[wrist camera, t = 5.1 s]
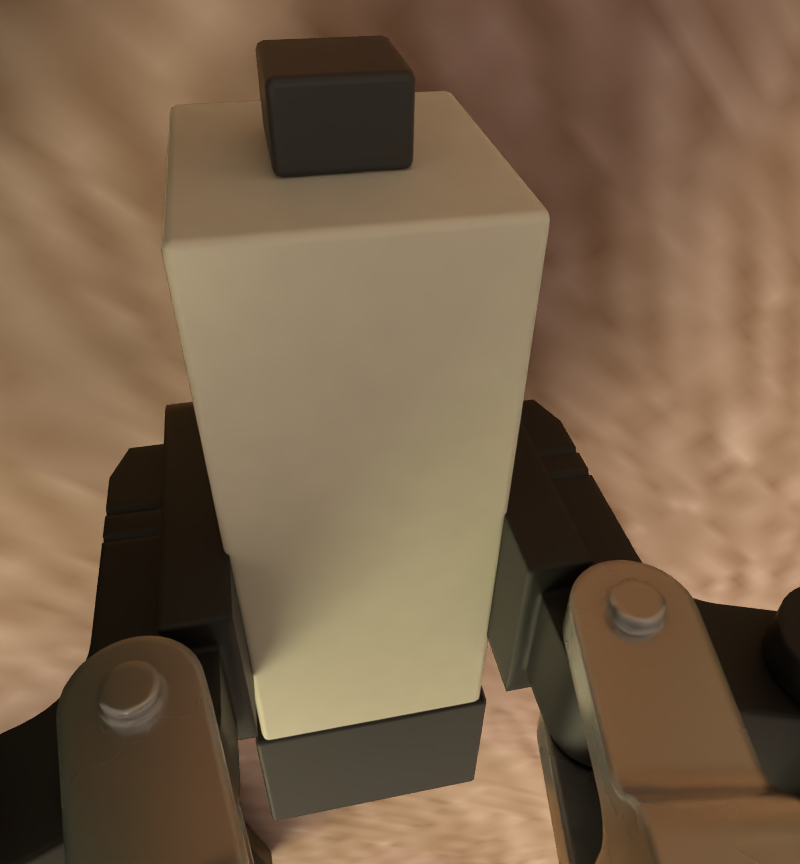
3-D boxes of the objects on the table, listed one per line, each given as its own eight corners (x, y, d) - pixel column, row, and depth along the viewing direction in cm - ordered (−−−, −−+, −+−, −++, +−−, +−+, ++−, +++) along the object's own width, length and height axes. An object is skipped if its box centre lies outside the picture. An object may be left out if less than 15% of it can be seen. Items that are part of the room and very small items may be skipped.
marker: (141, 14, 7) (119, 132, 5) (465, 4, 8) (585, 106, 5) (258, 646, 14) (272, 822, 12) (428, 617, 15) (475, 781, 12)
